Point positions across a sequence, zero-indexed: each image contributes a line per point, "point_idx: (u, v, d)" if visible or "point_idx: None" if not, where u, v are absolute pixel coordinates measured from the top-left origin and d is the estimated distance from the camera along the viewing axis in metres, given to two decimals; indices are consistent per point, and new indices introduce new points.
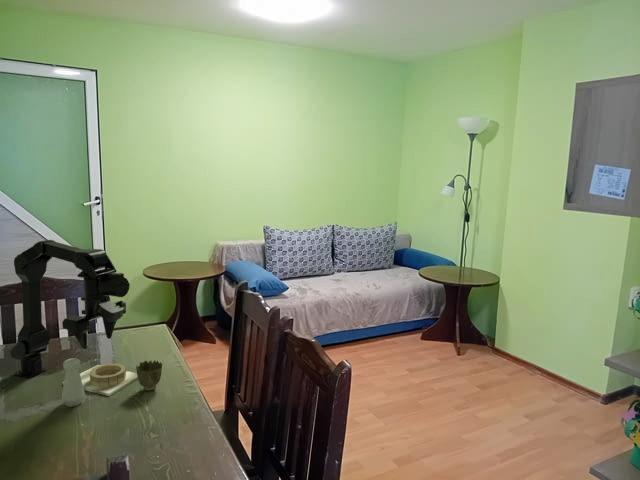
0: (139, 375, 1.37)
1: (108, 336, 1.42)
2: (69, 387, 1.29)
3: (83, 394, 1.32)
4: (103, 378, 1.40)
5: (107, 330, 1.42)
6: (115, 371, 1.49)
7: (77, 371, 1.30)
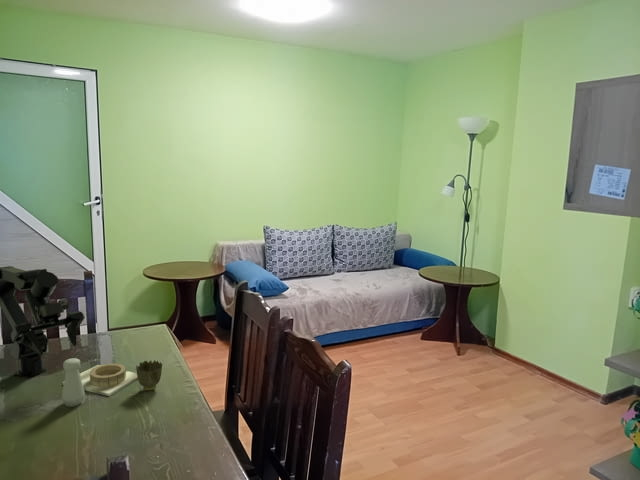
0: (139, 375, 1.37)
1: (73, 344, 1.38)
2: (69, 387, 1.29)
3: (83, 394, 1.32)
4: (103, 378, 1.40)
5: (71, 339, 1.39)
6: (115, 371, 1.49)
7: (77, 371, 1.30)
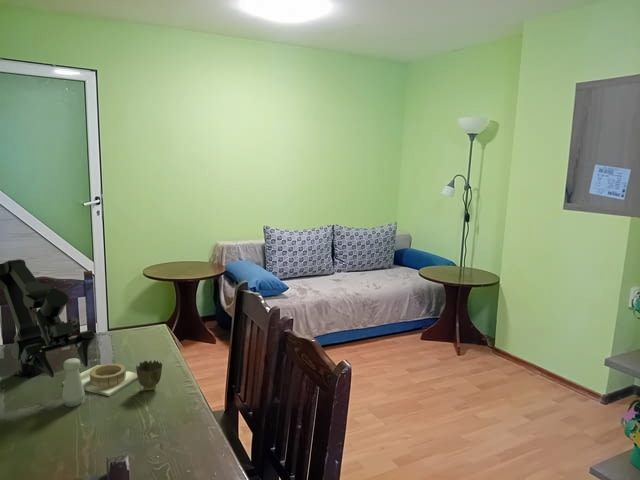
0: (139, 375, 1.37)
1: (85, 364, 1.35)
2: (69, 387, 1.29)
3: (83, 394, 1.32)
4: (103, 378, 1.40)
5: (82, 359, 1.36)
6: (115, 371, 1.49)
7: (77, 371, 1.30)
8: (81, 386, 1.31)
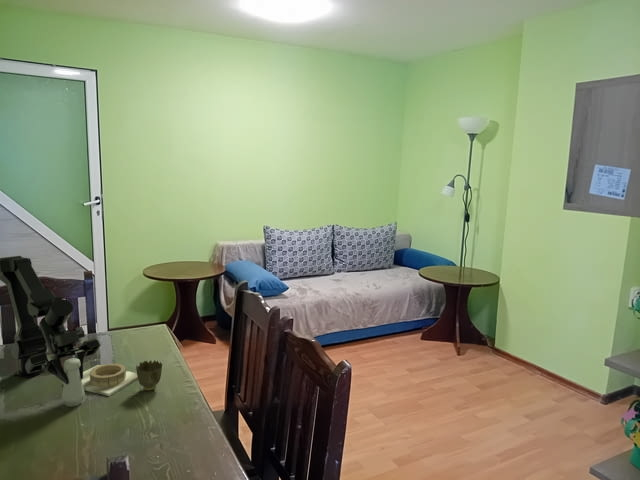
0: (139, 375, 1.37)
1: (80, 376, 1.31)
2: (69, 387, 1.29)
3: (83, 394, 1.32)
4: (103, 378, 1.40)
5: None
6: (115, 371, 1.49)
7: (77, 371, 1.30)
8: (81, 386, 1.31)
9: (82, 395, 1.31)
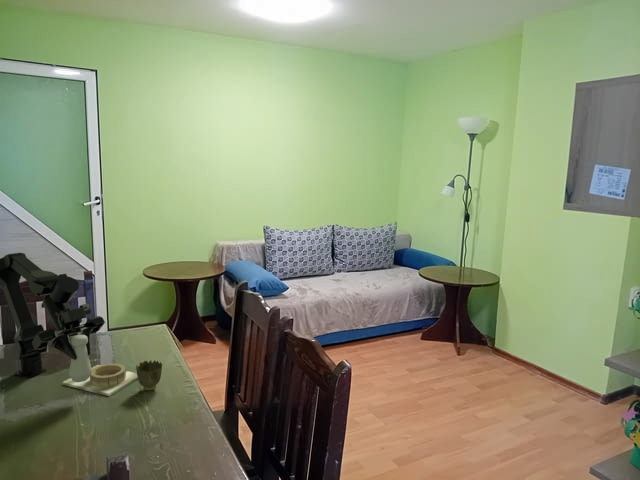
0: (139, 375, 1.37)
1: None
2: (77, 362, 1.30)
3: (90, 370, 1.33)
4: (103, 378, 1.40)
5: None
6: (115, 371, 1.49)
7: (85, 347, 1.32)
8: (88, 362, 1.33)
9: (89, 371, 1.33)
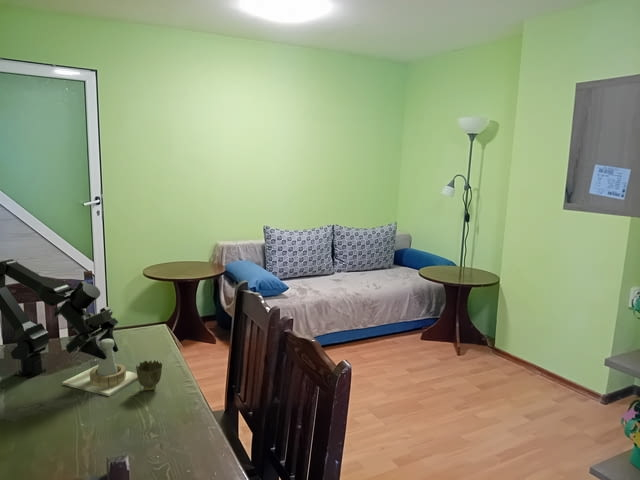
0: (139, 375, 1.37)
1: (115, 349, 1.46)
2: (108, 364, 1.42)
3: None
4: (103, 378, 1.40)
5: None
6: None
7: (112, 349, 1.44)
8: (115, 362, 1.45)
9: None
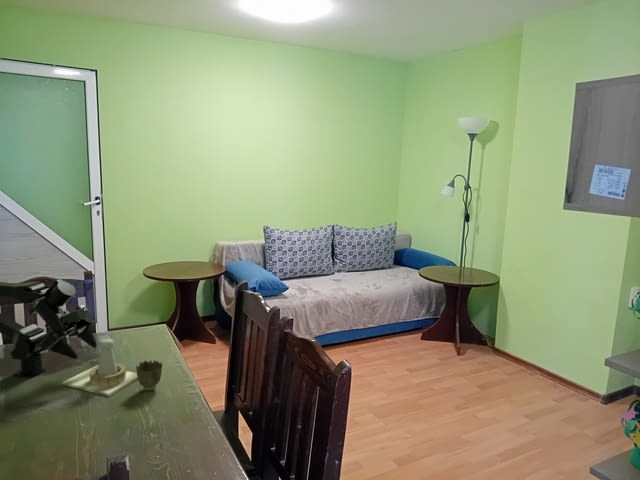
0: (139, 375, 1.37)
1: (94, 345, 1.49)
2: (108, 364, 1.42)
3: None
4: (103, 378, 1.40)
5: (89, 341, 1.49)
6: None
7: (112, 350, 1.44)
8: None
9: None
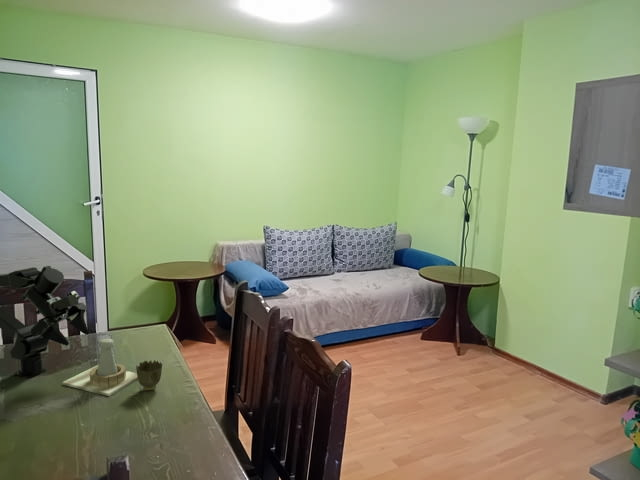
0: (139, 375, 1.37)
1: (86, 332, 1.48)
2: (108, 364, 1.42)
3: None
4: (103, 378, 1.40)
5: (81, 329, 1.48)
6: None
7: (112, 350, 1.44)
8: None
9: None
